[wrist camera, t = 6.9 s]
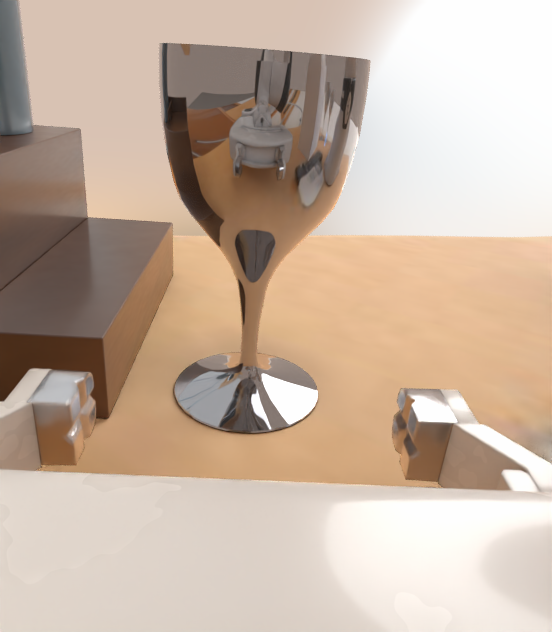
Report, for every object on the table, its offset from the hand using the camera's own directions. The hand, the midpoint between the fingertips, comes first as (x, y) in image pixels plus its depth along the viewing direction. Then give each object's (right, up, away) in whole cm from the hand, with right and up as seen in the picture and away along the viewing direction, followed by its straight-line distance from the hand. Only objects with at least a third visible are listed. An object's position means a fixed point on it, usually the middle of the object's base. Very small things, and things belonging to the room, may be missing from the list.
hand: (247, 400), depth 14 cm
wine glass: (-1, -1, +12) cm, 12 cm away
